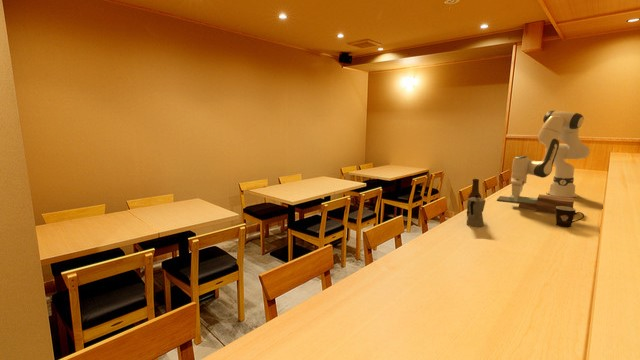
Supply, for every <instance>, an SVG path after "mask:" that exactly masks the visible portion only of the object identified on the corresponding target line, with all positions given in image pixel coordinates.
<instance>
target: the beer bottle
mask: <svg viewBox="0 0 640 360" xmlns="http://www.w3.org/2000/svg"><path fill="white" fill-rule="evenodd" d="M479 182H480V180H479V179H478V178H473V179H472V187H471V191H470V192H469V194H468V196H467V199H468V198H472V197H476V196H475V195H476V194H478V197H479V198H482V195H481V193H480V190H479V189H480V188H479V187H480V186H479V184H480V183H479ZM468 214H469V206H468V202H467V207H466V217H467V218H468Z"/></svg>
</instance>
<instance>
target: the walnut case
mask: <svg viewBox="0 0 640 360" xmlns="http://www.w3.org/2000/svg"><path fill="white" fill-rule="evenodd" d="M536 198H537V204H533V203H524V202H519V203H518V208H521V209H528V210H535V211H536V212H538V213H549V214H553V215H554V214H555V215H556V207H557V206H566V207H571V208H574V203H575V197H560V196H553V195H549V194H538V197H536Z"/></svg>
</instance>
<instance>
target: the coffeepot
mask: <svg viewBox="0 0 640 360" xmlns="http://www.w3.org/2000/svg"><path fill="white" fill-rule="evenodd" d="M475 196H476V197H472V198H468V197H467V203H468V206H469V214H468V217H467V219H466V225H467V226H469V227H473V228H481V227H484V216H483V212H484V209H485V205H486V199H485V198H483V197H481V198H479V197H478V194H476V195H475Z"/></svg>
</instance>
